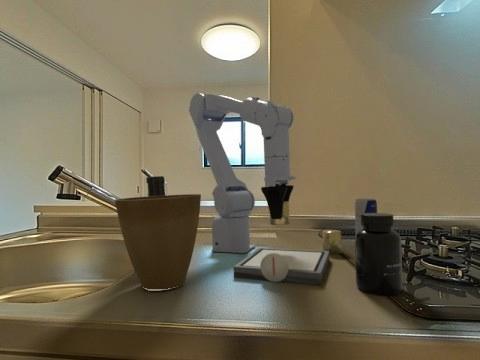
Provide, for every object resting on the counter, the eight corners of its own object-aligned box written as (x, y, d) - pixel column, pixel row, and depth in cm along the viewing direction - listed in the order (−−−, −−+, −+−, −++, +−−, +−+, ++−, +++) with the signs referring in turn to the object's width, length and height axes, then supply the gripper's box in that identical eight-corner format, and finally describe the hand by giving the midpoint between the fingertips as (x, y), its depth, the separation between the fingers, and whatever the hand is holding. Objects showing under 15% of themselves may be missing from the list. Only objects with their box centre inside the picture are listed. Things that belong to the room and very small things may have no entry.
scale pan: (243, 268, 58) (243, 265, 58) (263, 252, 70) (263, 249, 70) (313, 274, 53) (313, 270, 53) (321, 255, 65) (321, 252, 65)
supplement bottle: (401, 299, 44) (398, 217, 44) (352, 292, 48) (349, 216, 48) (404, 284, 50) (401, 212, 50) (360, 278, 54) (358, 211, 54)
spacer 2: (322, 253, 72) (321, 232, 72) (324, 249, 76) (323, 229, 76) (341, 254, 71) (340, 233, 71) (342, 250, 75) (341, 230, 75)
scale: (232, 278, 56) (231, 251, 56) (259, 256, 72) (258, 235, 72) (320, 286, 51) (319, 256, 51) (329, 260, 66) (328, 237, 66)
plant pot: (213, 272, 61) (210, 192, 61) (188, 302, 46) (184, 197, 46) (144, 271, 63) (141, 194, 63) (99, 299, 49) (95, 200, 49)
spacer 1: (267, 225, 68) (267, 202, 68) (272, 222, 72) (272, 201, 72) (287, 225, 66) (286, 202, 66) (291, 222, 70) (290, 200, 70)
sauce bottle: (180, 259, 72) (177, 175, 72) (163, 266, 66) (159, 175, 66) (158, 257, 75) (155, 176, 75) (140, 264, 69) (136, 176, 69)
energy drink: (380, 247, 76) (378, 199, 76) (358, 247, 77) (356, 200, 77) (375, 243, 81) (374, 198, 81) (354, 243, 82) (352, 198, 82)
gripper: (287, 154, 61) (290, 222, 61) (299, 158, 74) (302, 213, 74) (254, 156, 63) (256, 221, 63) (271, 160, 77) (274, 213, 77)
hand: (279, 217), depth 69 cm, fingers closed on spacer 1, 4 cm apart
